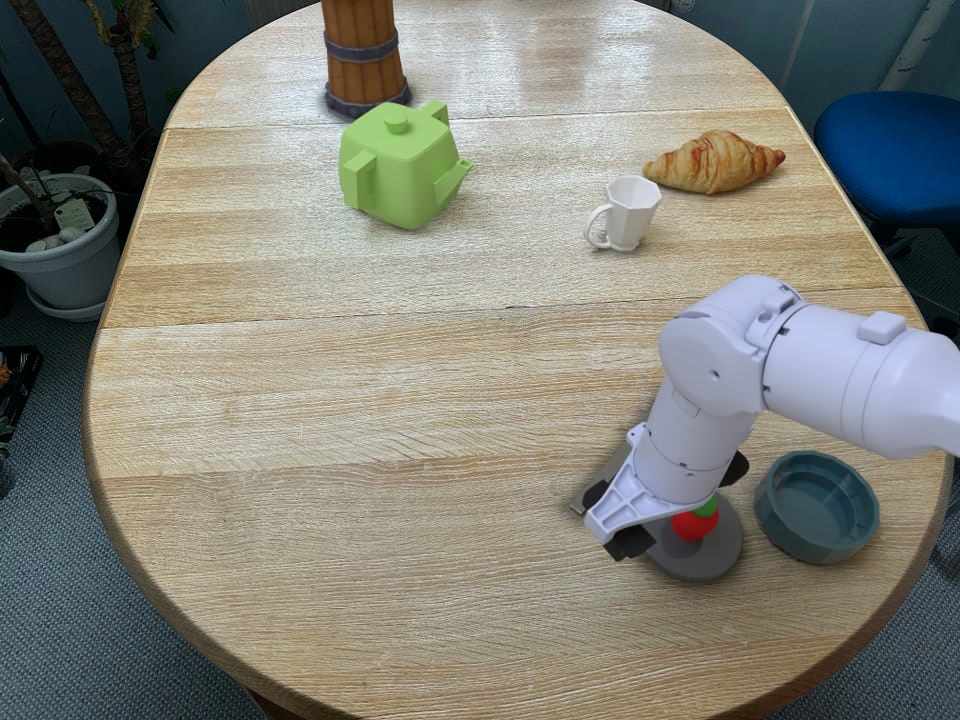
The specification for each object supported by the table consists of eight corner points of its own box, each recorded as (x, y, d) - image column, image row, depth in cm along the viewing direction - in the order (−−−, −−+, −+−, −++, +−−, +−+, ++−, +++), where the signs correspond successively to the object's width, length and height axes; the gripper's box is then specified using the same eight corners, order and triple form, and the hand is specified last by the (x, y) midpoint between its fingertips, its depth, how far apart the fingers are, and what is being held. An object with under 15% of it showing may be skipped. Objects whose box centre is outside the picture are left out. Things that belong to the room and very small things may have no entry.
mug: (297, 78, 114) (270, -53, 98) (373, 55, 119) (359, -72, 103) (348, 133, 104) (328, -2, 88) (429, 106, 109) (423, -26, 93)
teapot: (509, 192, 95) (514, 108, 85) (423, 273, 85) (418, 188, 75) (406, 148, 102) (400, 64, 91) (315, 218, 91) (296, 133, 81)
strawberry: (717, 523, 63) (733, 500, 60) (696, 554, 61) (711, 532, 58) (680, 498, 65) (694, 473, 61) (658, 527, 63) (671, 503, 59)
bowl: (875, 512, 65) (896, 493, 62) (834, 588, 61) (854, 572, 58) (780, 453, 69) (795, 432, 66) (734, 520, 65) (747, 501, 62)
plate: (757, 525, 64) (761, 521, 64) (705, 604, 60) (709, 601, 59) (667, 464, 68) (670, 459, 68) (612, 534, 64) (614, 529, 63)
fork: (582, 517, 65) (583, 515, 64) (567, 506, 65) (568, 503, 65) (679, 402, 73) (680, 400, 73) (665, 394, 74) (666, 391, 74)
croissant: (641, 213, 98) (660, 189, 90) (629, 149, 100) (646, 121, 92) (778, 197, 100) (807, 172, 93) (763, 135, 102) (791, 106, 94)
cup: (659, 248, 89) (674, 199, 82) (595, 272, 86) (606, 223, 79) (628, 217, 92) (640, 168, 86) (566, 239, 89) (574, 189, 83)
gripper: (721, 343, 48) (674, 443, 58) (565, 443, 42) (545, 534, 53) (802, 410, 44) (737, 504, 55) (643, 529, 39) (605, 608, 50)
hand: (647, 523), depth 54 cm, fingers open, 7 cm apart
